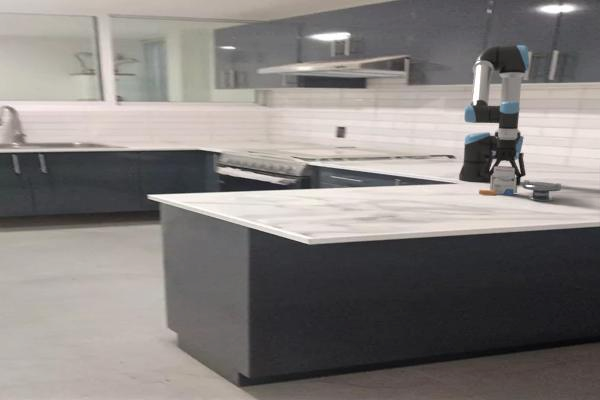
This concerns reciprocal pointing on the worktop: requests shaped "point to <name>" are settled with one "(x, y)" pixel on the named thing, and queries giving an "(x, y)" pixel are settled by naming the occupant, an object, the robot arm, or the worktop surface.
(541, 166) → the worktop surface
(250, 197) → the worktop surface
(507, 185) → the ink box
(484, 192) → the wedge pin
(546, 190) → the rosette stub
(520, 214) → the worktop surface
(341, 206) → the worktop surface
